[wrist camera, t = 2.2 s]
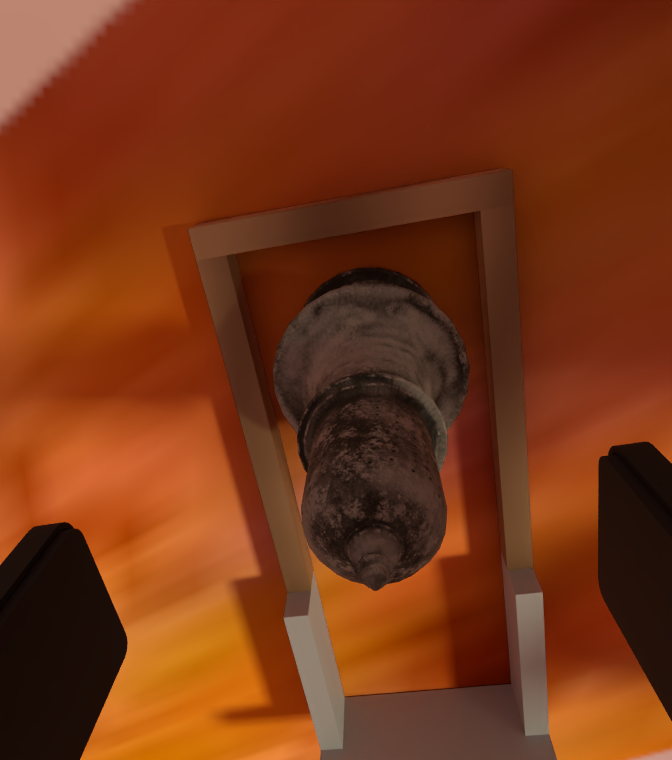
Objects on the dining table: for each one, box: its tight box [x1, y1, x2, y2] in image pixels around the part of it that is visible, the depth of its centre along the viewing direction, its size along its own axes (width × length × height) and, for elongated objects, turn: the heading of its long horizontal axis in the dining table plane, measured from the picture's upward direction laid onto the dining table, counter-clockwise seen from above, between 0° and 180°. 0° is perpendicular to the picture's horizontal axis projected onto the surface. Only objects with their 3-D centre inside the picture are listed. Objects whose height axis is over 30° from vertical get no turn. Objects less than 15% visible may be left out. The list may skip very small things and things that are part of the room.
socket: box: [283, 553, 557, 760], centre depth 23 cm, size 10×9×5 cm
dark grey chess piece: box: [273, 268, 470, 591], centre depth 14 cm, size 6×6×12 cm
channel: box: [188, 168, 533, 593], centre depth 20 cm, size 10×15×1 cm, turn 10°
